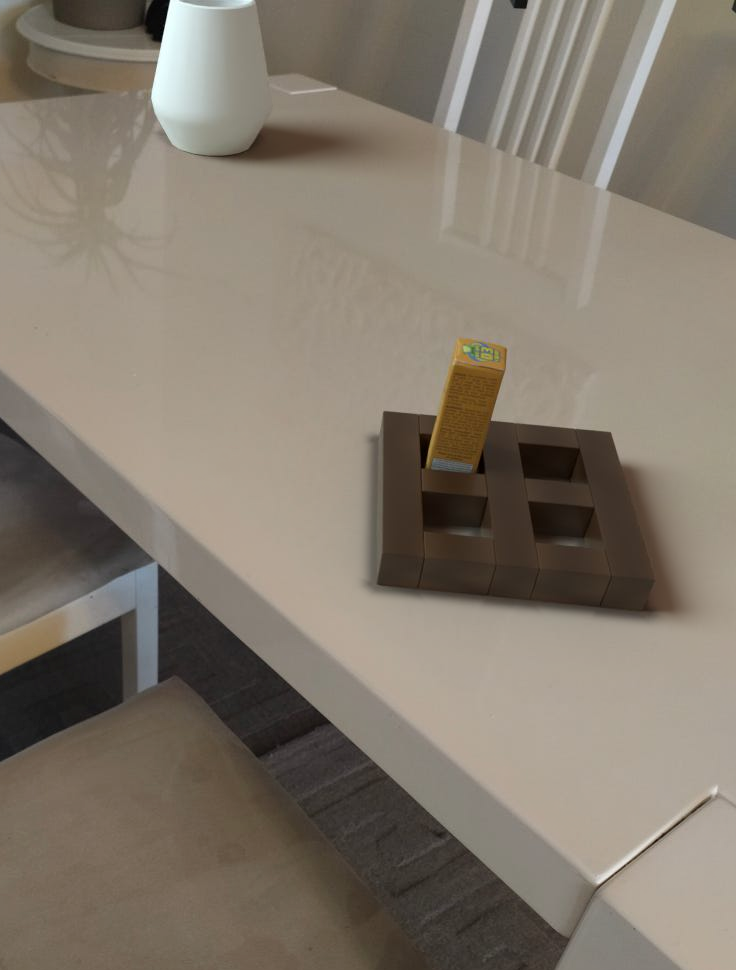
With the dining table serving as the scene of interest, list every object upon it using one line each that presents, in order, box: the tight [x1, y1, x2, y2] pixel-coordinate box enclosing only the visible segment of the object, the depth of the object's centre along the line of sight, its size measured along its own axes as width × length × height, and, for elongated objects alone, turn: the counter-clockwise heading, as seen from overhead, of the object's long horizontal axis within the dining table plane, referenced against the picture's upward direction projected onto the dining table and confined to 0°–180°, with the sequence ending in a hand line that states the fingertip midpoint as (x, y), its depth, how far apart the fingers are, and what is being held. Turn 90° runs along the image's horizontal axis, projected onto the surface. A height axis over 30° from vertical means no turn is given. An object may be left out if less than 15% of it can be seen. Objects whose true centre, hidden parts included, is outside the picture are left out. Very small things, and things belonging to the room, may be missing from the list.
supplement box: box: [423, 337, 508, 474], centre depth 61 cm, size 3×3×10 cm
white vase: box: [150, 0, 273, 157], centre depth 106 cm, size 13×13×14 cm
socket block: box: [375, 410, 656, 612], centre depth 61 cm, size 15×15×3 cm
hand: (629, 10), depth 59 cm, fingers open, 13 cm apart
